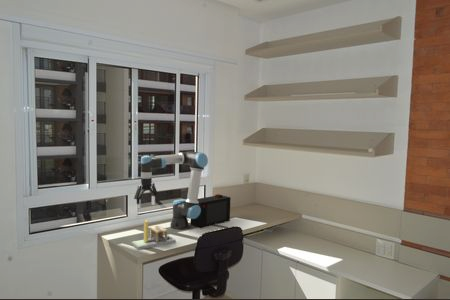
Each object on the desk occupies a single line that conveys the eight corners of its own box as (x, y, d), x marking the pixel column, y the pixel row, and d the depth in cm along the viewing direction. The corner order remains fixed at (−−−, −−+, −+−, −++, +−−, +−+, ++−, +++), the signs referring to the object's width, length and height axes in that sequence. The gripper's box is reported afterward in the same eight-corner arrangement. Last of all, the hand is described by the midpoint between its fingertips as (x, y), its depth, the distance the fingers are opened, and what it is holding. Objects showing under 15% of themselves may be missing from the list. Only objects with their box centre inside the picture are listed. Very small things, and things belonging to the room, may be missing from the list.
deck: (168, 237, 260) (168, 234, 260) (175, 242, 251) (175, 239, 251) (131, 244, 244) (131, 241, 244) (137, 249, 234) (137, 246, 234)
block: (160, 236, 252) (160, 229, 252) (163, 238, 248) (163, 231, 248) (153, 237, 250) (153, 230, 249) (156, 239, 246) (156, 232, 245)
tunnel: (159, 236, 256) (160, 225, 256) (166, 241, 247) (167, 229, 246) (149, 238, 252) (150, 227, 251) (156, 243, 242) (156, 231, 241)
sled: (161, 236, 254) (161, 217, 253) (165, 239, 249) (165, 219, 247) (142, 240, 246) (143, 219, 245) (146, 243, 240) (146, 222, 239)
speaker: (188, 224, 297) (189, 196, 295) (218, 217, 321) (219, 192, 319) (200, 228, 286) (201, 200, 284) (229, 221, 310) (230, 195, 308)
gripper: (155, 174, 257) (155, 202, 259) (128, 179, 237) (129, 209, 238) (162, 176, 253) (162, 204, 255) (136, 180, 232) (136, 211, 234)
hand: (146, 206), depth 247 cm, fingers open, 13 cm apart
